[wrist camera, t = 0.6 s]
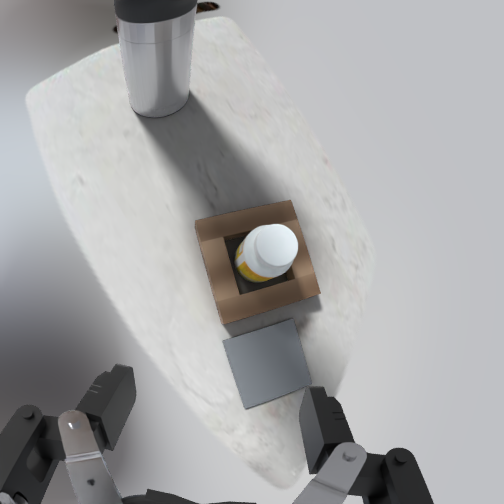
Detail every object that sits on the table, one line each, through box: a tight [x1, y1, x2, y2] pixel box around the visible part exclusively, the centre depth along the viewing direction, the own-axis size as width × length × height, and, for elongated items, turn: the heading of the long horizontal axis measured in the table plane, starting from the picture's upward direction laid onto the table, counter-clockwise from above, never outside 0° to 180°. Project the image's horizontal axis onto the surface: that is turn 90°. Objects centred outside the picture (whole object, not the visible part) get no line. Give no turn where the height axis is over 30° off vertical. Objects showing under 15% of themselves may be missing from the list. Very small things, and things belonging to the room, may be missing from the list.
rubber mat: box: [223, 318, 312, 409], centre depth 33 cm, size 9×9×1 cm
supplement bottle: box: [234, 224, 298, 283], centre depth 31 cm, size 5×5×10 cm
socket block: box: [195, 200, 321, 324], centre depth 34 cm, size 12×12×2 cm
